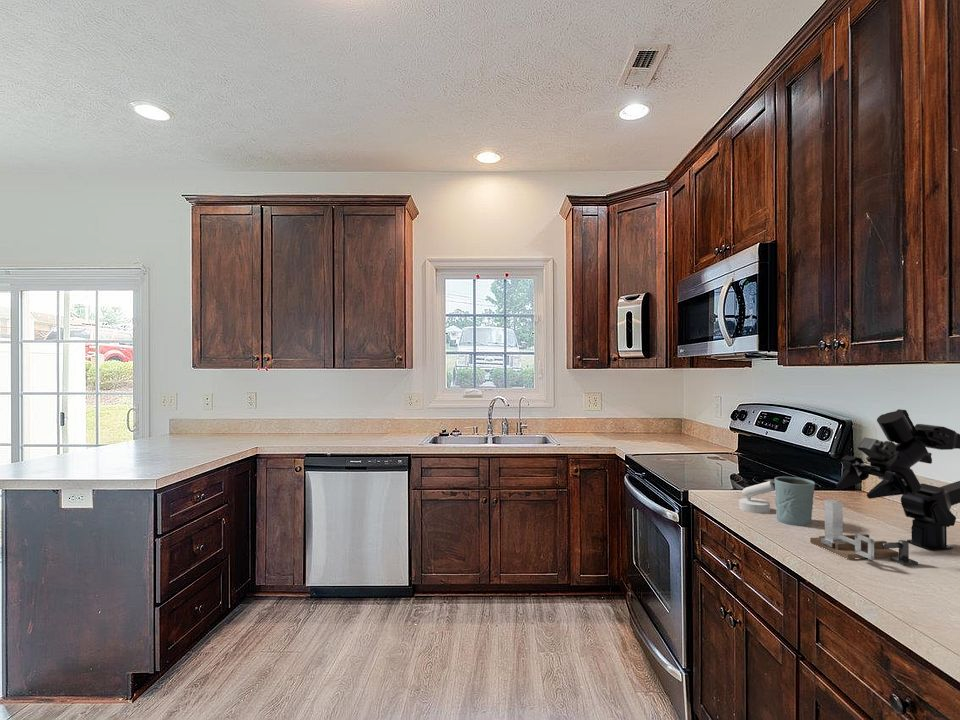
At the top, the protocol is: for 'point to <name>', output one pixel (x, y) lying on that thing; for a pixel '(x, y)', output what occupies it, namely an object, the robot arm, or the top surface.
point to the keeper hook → (901, 552)
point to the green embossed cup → (794, 500)
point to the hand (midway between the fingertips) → (852, 492)
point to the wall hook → (756, 504)
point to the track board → (849, 549)
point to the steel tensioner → (836, 530)
